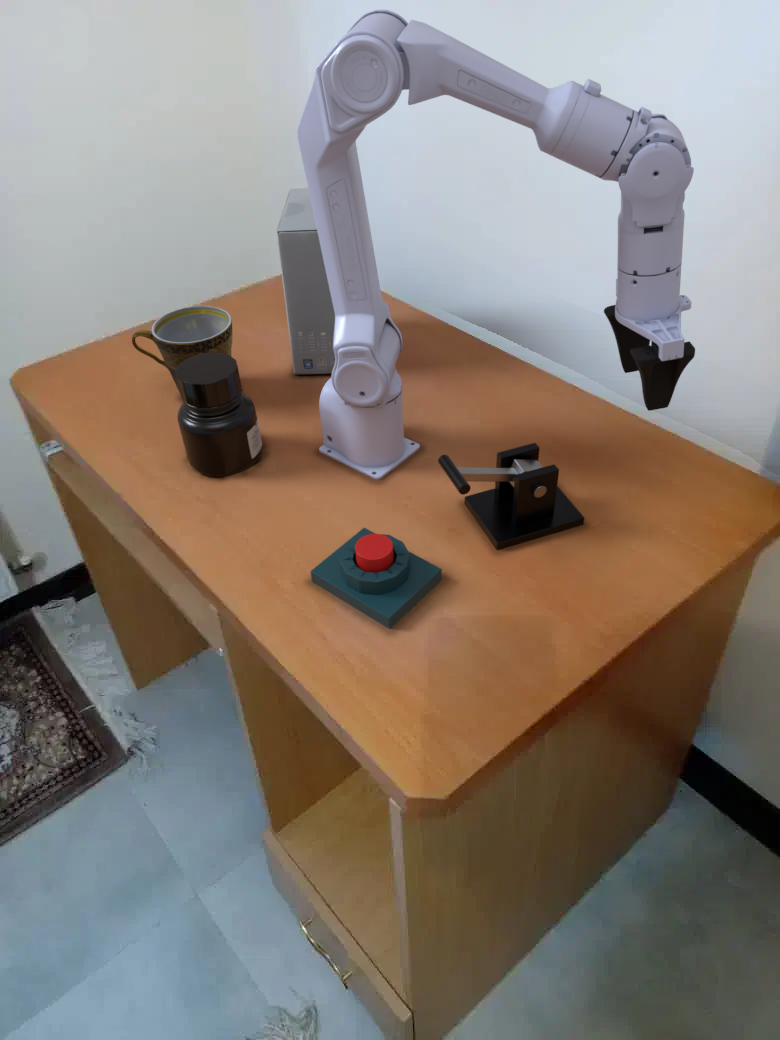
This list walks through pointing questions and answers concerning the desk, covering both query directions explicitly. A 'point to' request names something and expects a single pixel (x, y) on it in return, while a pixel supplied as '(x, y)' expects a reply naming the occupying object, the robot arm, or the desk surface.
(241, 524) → the desk surface
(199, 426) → the ink bottle
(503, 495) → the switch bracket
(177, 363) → the ceramic cup
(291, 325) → the hard drive box
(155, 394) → the desk surface
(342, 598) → the button box
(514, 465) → the switch lever
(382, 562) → the power button
